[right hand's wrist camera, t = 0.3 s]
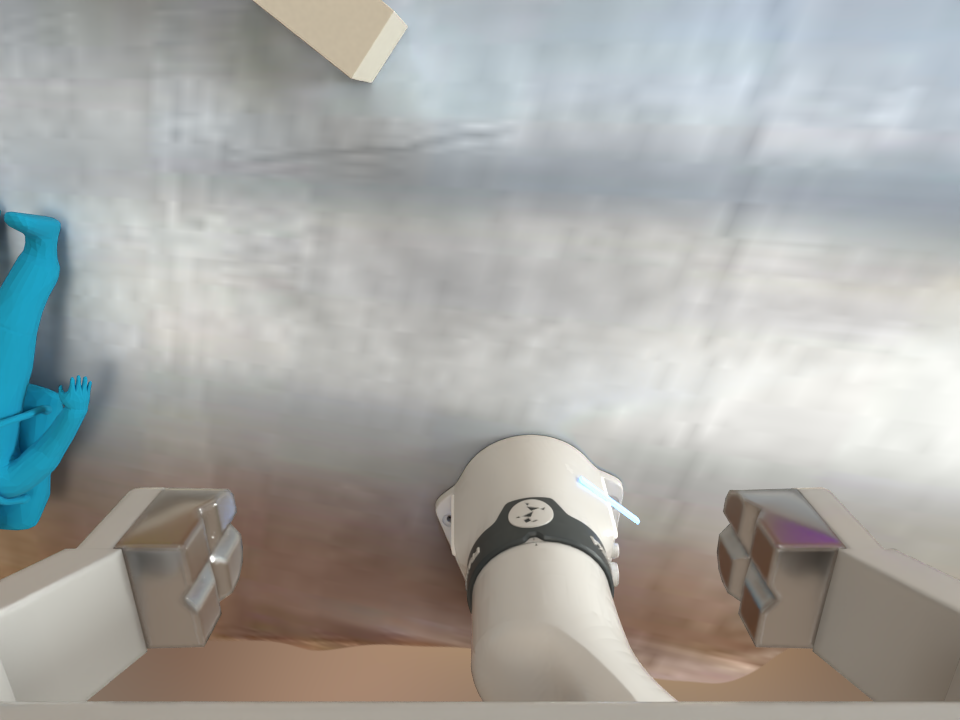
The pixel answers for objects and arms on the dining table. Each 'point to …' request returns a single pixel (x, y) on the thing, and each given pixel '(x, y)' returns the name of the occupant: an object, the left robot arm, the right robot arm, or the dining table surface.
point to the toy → (6, 374)
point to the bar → (343, 31)
